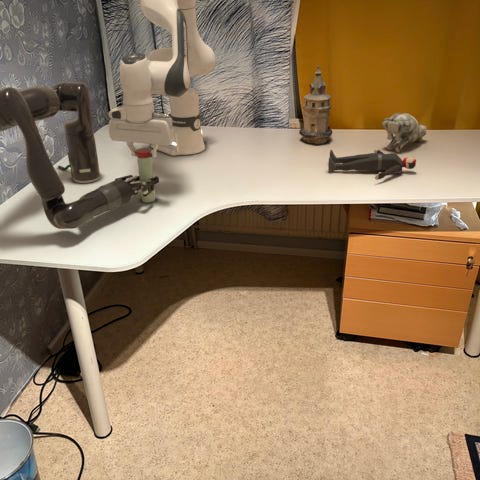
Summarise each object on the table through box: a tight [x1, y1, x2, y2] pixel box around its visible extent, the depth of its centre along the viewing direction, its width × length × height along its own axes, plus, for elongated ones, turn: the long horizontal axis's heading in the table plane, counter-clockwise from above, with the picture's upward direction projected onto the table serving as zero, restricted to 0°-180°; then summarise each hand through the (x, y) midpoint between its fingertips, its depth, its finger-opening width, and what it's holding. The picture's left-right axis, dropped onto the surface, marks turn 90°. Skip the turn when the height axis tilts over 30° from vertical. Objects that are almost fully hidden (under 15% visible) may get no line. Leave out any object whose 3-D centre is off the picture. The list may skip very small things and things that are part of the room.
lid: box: [135, 147, 152, 158], centre depth 165 cm, size 5×5×2 cm
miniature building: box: [298, 65, 333, 145], centre depth 213 cm, size 13×14×30 cm
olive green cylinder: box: [136, 156, 156, 203], centre depth 169 cm, size 4×4×16 cm
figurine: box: [381, 112, 428, 153], centre depth 209 cm, size 10×19×20 cm
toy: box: [327, 149, 417, 181], centre depth 190 cm, size 26×6×30 cm
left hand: (152, 177), depth 171 cm, fingers closed on olive green cylinder, 4 cm apart
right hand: (144, 156), depth 165 cm, fingers closed on lid, 5 cm apart
